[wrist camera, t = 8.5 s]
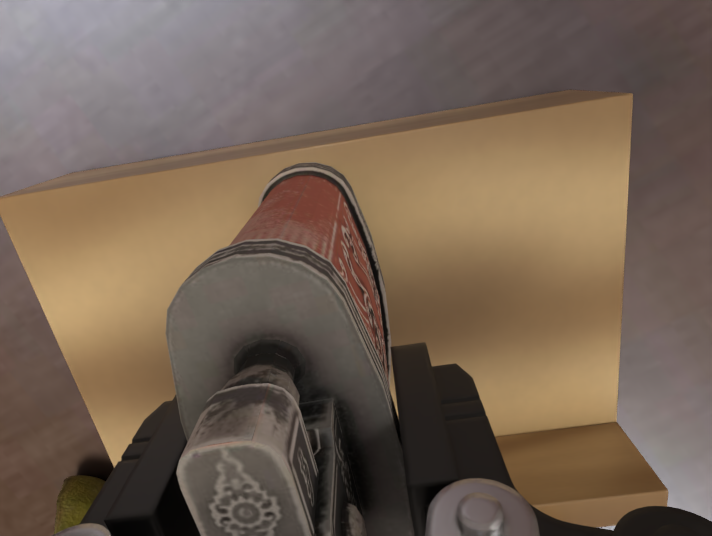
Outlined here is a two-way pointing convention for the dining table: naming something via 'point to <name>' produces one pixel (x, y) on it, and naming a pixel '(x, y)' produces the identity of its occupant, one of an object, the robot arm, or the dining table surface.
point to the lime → (76, 500)
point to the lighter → (290, 373)
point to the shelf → (387, 272)
